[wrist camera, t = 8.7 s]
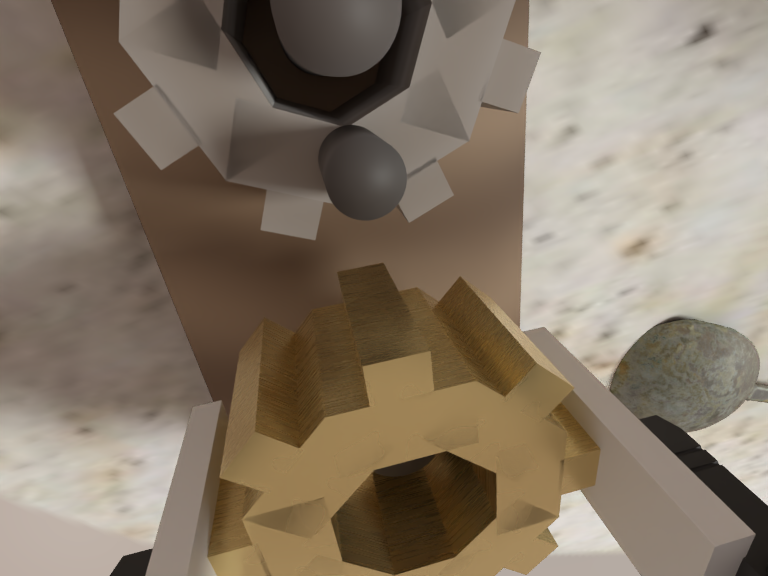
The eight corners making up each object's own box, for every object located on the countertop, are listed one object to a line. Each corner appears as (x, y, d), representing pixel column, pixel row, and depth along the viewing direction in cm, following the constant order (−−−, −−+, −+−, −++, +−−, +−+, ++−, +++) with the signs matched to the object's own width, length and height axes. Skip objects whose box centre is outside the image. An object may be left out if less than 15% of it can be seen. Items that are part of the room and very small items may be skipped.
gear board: (-13, -228, 9) (-734, -952, 3) (507, -256, 11) (853, -777, 4) (247, 451, 19) (226, 650, 12) (502, 390, 20) (603, 539, 14)
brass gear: (184, 302, 10) (133, 419, 7) (519, 235, 11) (624, 306, 8) (272, 526, 14) (268, 673, 11) (514, 460, 15) (582, 574, 12)
